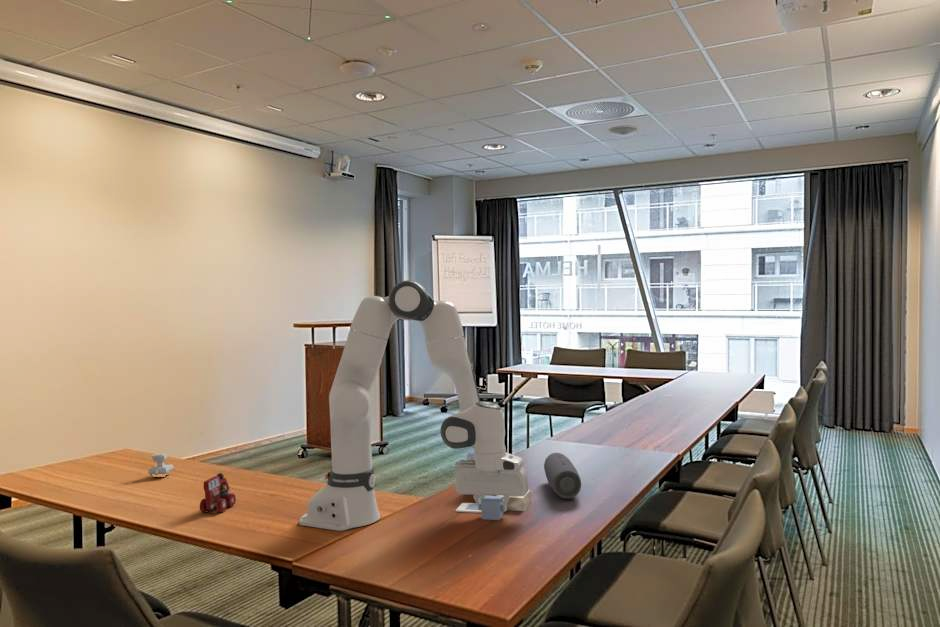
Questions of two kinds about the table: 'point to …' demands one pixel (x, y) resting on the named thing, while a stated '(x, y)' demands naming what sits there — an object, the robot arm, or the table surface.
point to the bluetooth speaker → (562, 475)
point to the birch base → (518, 502)
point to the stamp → (160, 465)
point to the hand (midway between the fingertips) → (492, 510)
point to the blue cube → (491, 507)
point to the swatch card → (468, 508)
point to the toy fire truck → (217, 494)
